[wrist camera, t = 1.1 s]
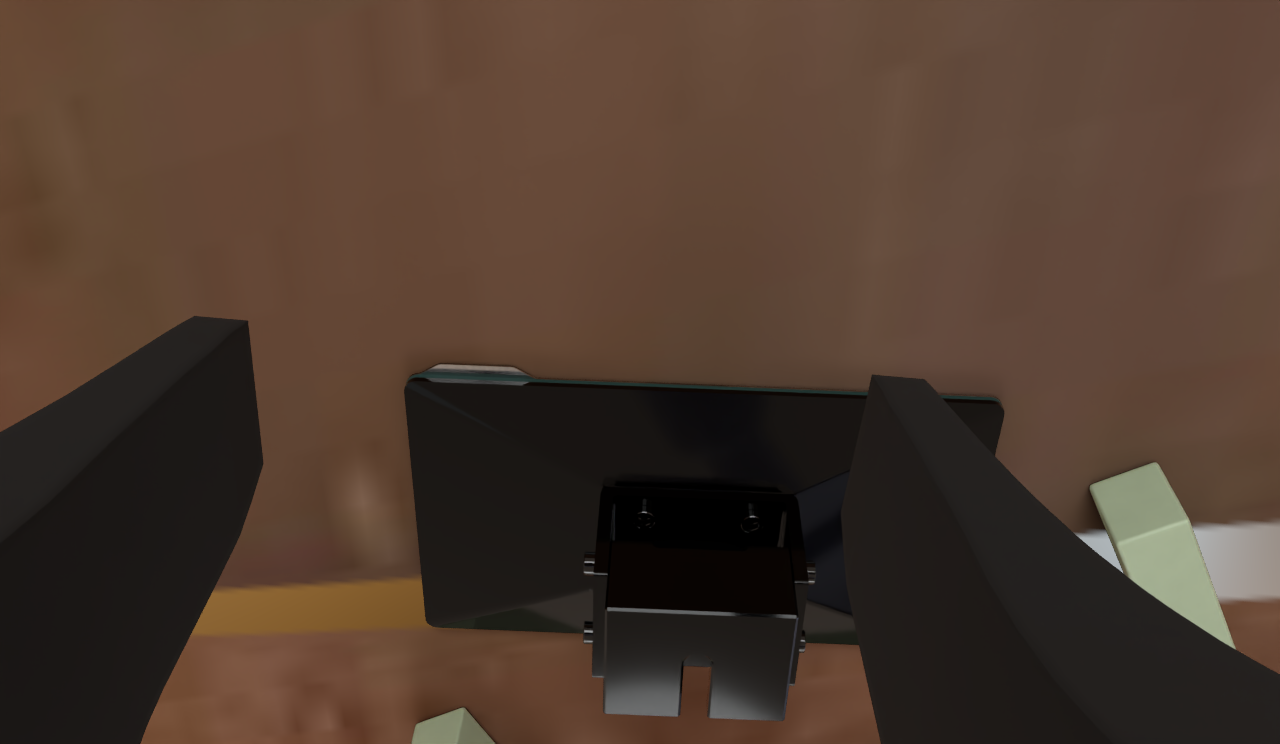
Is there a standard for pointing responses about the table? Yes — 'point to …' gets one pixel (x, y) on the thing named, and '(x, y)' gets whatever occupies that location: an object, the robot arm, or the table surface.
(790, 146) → the table surface
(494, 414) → the build plate
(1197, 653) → the robot arm
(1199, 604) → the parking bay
